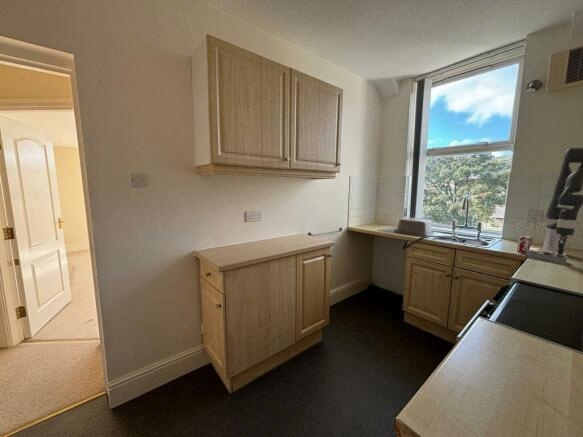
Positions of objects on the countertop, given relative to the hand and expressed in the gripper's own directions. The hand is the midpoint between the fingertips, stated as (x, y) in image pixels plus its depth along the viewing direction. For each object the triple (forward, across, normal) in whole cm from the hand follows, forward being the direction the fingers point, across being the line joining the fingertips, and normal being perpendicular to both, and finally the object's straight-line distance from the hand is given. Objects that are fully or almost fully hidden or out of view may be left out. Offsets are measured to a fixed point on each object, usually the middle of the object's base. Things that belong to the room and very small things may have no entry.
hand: (560, 254), depth 151 cm
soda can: (+6, -12, -19) cm, 23 cm away
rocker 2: (0, -3, 0) cm, 3 cm away
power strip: (+6, -3, -6) cm, 9 cm away
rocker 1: (0, -3, -12) cm, 12 cm away
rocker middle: (0, -3, -6) cm, 7 cm away
